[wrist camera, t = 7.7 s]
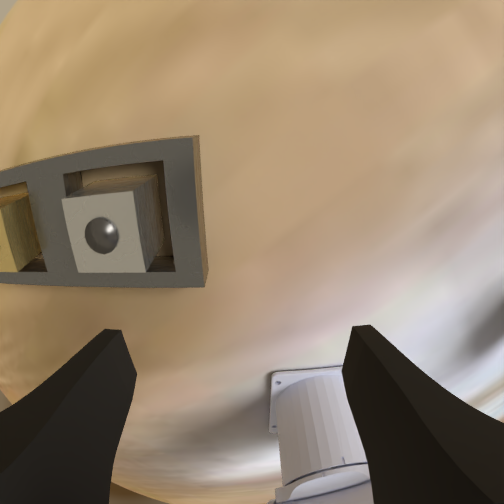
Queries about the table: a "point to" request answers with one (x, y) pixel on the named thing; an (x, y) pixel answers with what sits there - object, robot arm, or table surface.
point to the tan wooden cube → (17, 233)
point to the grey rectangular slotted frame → (69, 181)
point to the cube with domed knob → (115, 225)
